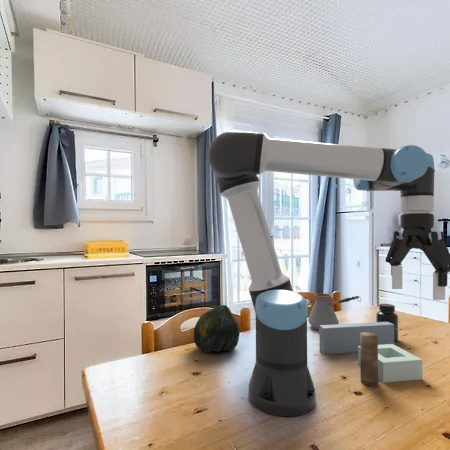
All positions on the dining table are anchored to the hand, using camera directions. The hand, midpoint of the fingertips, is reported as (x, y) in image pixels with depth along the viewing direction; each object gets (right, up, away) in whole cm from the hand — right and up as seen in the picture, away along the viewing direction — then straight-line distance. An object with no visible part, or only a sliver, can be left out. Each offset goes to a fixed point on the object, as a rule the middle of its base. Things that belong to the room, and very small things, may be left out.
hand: (416, 293), depth 80 cm
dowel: (-14, -22, -4) cm, 26 cm away
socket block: (-6, -22, +2) cm, 23 cm away
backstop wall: (-8, -22, +17) cm, 29 cm away
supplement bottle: (+7, -22, +27) cm, 35 cm away
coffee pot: (-9, -22, +35) cm, 43 cm away
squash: (-53, -22, +19) cm, 60 cm away
